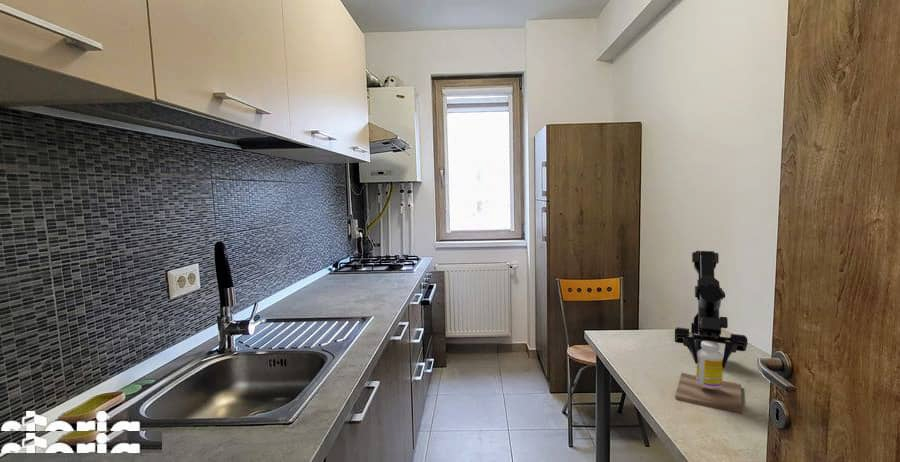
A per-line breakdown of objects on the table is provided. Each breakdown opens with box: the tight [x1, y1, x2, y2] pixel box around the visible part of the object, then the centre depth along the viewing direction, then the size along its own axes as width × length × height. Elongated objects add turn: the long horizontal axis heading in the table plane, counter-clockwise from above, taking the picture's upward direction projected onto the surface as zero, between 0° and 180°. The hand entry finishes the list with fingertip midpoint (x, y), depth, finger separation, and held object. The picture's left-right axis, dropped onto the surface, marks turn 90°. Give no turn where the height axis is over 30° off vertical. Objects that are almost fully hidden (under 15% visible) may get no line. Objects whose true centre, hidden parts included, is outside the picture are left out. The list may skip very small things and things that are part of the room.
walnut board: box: [674, 372, 743, 415], centre depth 125 cm, size 18×16×1 cm
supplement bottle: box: [695, 341, 724, 389], centre depth 124 cm, size 7×7×13 cm
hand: (709, 365), depth 123 cm, fingers closed on supplement bottle, 7 cm apart
